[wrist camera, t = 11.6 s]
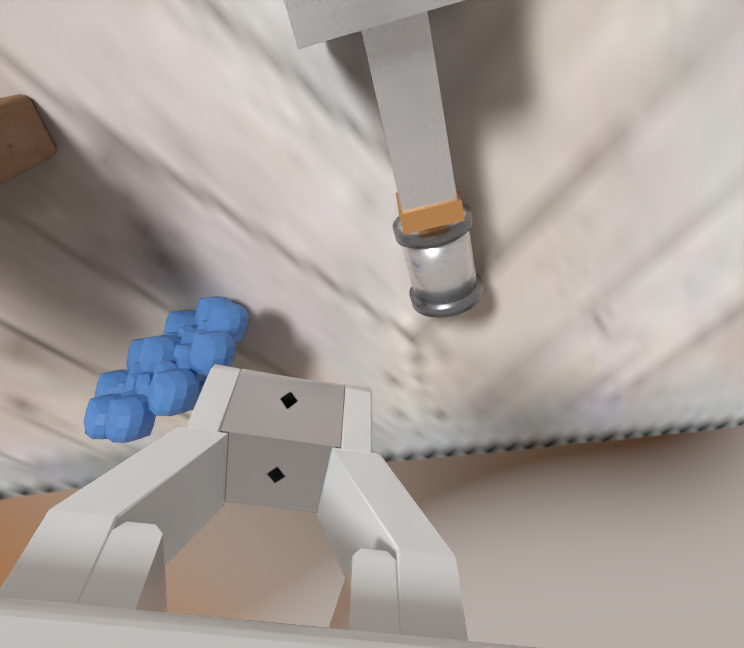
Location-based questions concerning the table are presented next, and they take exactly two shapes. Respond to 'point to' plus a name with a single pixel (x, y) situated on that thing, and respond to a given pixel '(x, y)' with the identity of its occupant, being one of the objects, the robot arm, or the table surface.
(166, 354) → the grapes
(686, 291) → the table surface
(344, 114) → the table surface
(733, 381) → the table surface
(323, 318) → the table surface
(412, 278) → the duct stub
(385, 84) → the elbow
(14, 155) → the wooden hammer
